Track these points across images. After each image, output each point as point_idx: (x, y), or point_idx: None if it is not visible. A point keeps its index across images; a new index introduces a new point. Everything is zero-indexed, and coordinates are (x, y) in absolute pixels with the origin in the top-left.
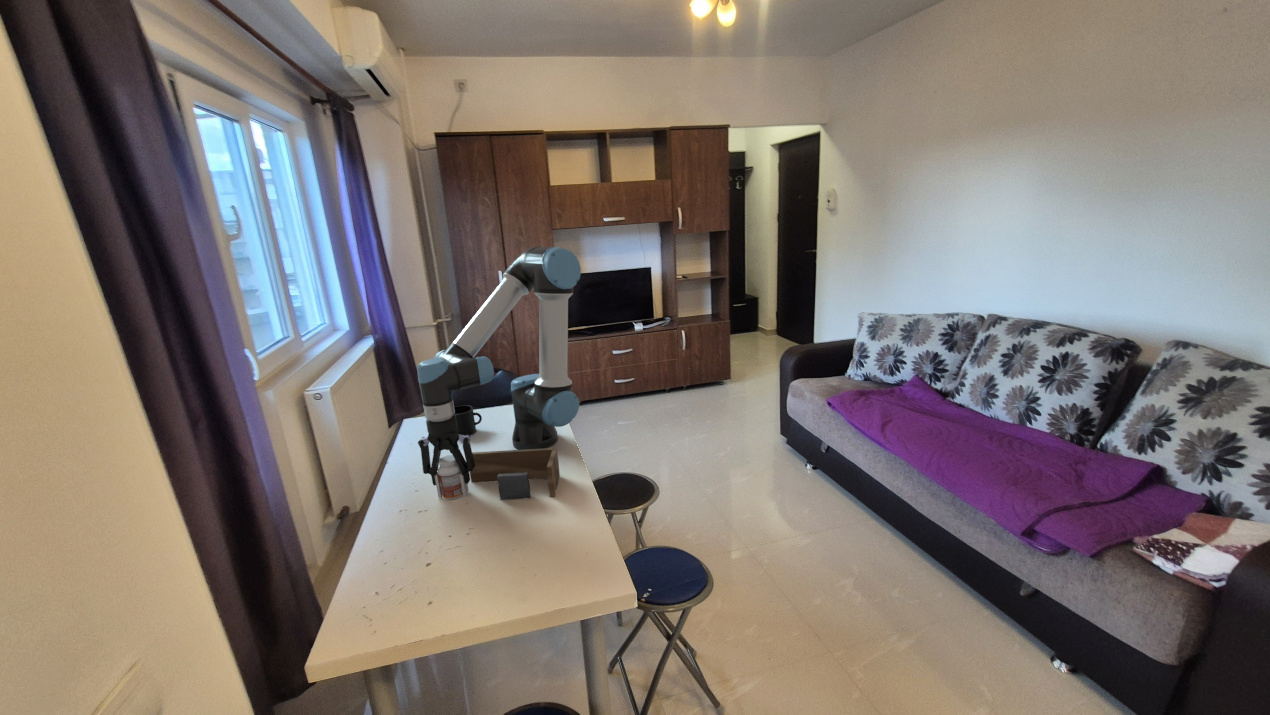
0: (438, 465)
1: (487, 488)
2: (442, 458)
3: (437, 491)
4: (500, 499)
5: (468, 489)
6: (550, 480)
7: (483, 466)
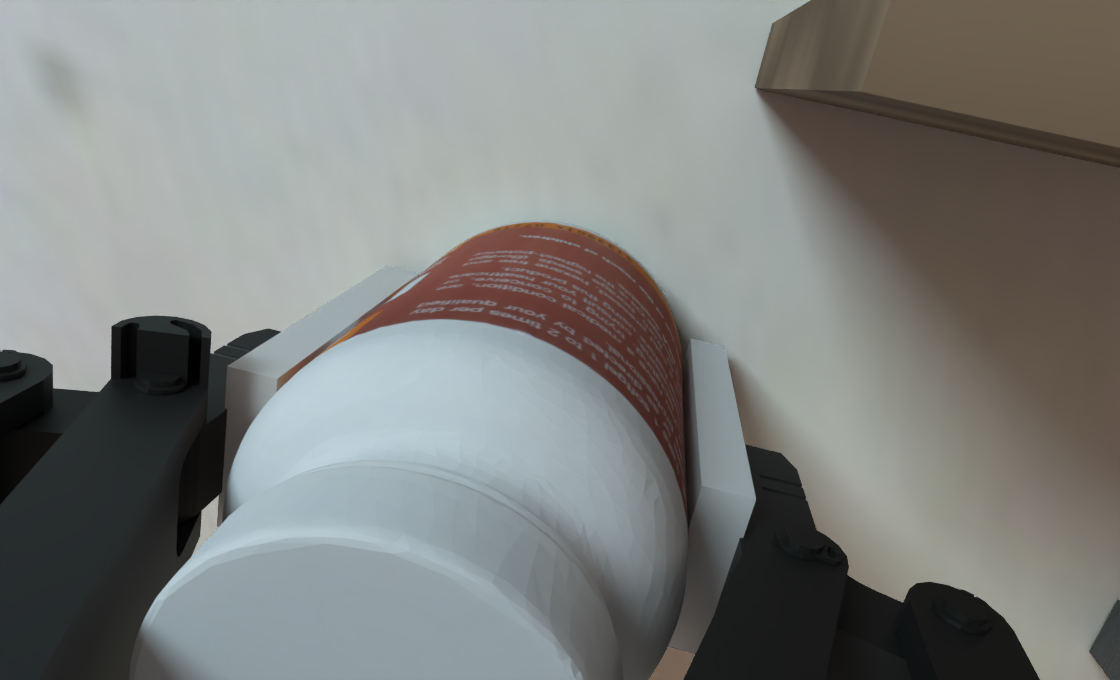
0: (177, 442)
1: (970, 333)
2: (196, 677)
3: None
4: (1094, 657)
5: (726, 355)
6: None
7: (1103, 157)
